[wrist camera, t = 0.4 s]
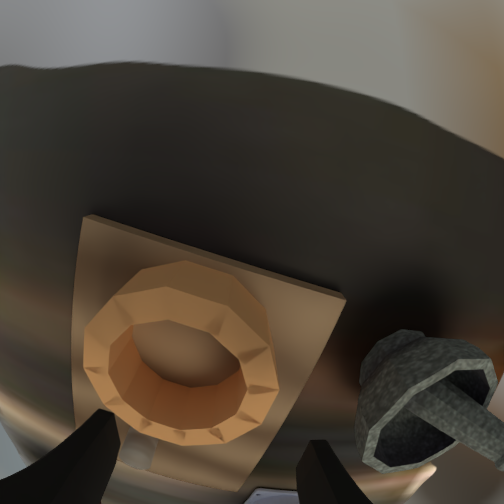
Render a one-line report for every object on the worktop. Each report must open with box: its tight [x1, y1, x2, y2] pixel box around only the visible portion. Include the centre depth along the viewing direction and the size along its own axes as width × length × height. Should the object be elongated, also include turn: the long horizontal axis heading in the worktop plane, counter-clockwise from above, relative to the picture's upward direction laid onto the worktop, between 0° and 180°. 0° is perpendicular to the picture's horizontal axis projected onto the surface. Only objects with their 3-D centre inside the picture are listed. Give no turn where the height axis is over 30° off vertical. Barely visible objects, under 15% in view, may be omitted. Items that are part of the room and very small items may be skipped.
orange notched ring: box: [83, 260, 280, 446], centre depth 15 cm, size 10×10×4 cm
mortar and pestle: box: [354, 329, 504, 474], centre depth 14 cm, size 11×9×12 cm
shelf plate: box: [71, 214, 346, 492], centre depth 17 cm, size 22×16×5 cm
